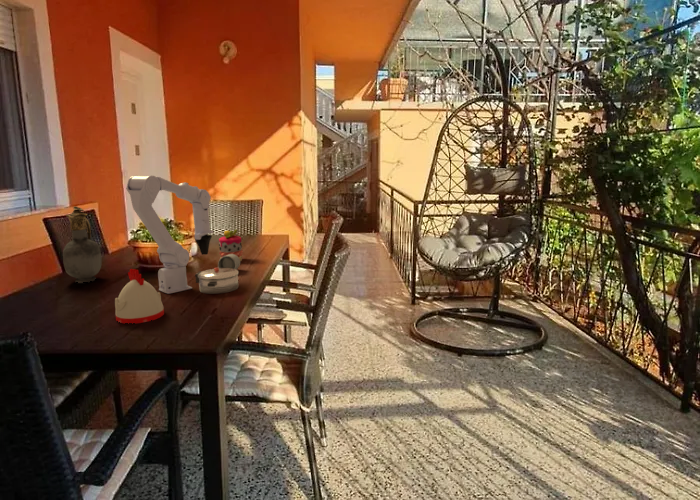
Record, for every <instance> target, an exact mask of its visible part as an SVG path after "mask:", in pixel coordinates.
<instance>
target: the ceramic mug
mask: <svg viewBox="0 0 700 500" xmlns="http://www.w3.org/2000/svg"><path fill="white" fill-rule="evenodd" d="M240 265H241V261H240V259H239V257H238V256H237V255H235V254H228V255H226V256H223V257H222V258H221V257H220V258H219V260H218V262H217V267H218V268H232V269H236V270H238V268H239V267H240Z"/></svg>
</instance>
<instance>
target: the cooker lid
mask: <svg viewBox="0 0 700 500" xmlns="http://www.w3.org/2000/svg"><path fill="white" fill-rule="evenodd" d="M236 275H239V270H238V269H232V268H218V266H217V267H213V268H212V269H211V268H210V269H206V270H202V271H201V270H199V271H198V272H197V273H195V275H194V277H195V278H196V277H197V276H198V278H199V279H203V280H220V279H227V278H231V277H234V276H236Z"/></svg>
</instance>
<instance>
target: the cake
mask: <svg viewBox="0 0 700 500" xmlns="http://www.w3.org/2000/svg"><path fill="white" fill-rule="evenodd" d="M237 234H238V229H237V228H236V229H235V230H234V231H233V230H224V232H223V235H224V236H221V237H220V238H218V243H219V244H218V247H219V253H218V255H220V258H222V257H223V256H226V255H228V254H235V255H237V256H238V257H239V259H240V262H242V261H243V254H244V251H243V246H242V237H241V236H239V235H237Z"/></svg>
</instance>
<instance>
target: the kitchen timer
mask: <svg viewBox="0 0 700 500" xmlns="http://www.w3.org/2000/svg"><path fill="white" fill-rule="evenodd" d="M127 275H128V278H129V282H127V283H126V284H125V286H123V288H122V289H121V291H120V292H119V295H118V297H115V298H114V307H115V321H116V322H117V321H118V323H119V322H120V324H125V323H128V324H129V323H132V324H133V323H135V324H141V323H146V322H151V320H152V321H155V320H157V319H160V318H161V317H163V316H164V315H165V307H164V305H163V302H162V296H161V294H162V293H161V291H160V292H158V291H157V290H156V288H155V287H154V286H153V285H152V284H151V283H150V282H147V281H146V280H145V278H142V273H140V272H139V269H137V268H130V269H129V271H128V272H127ZM129 325H130V324H129Z"/></svg>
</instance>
